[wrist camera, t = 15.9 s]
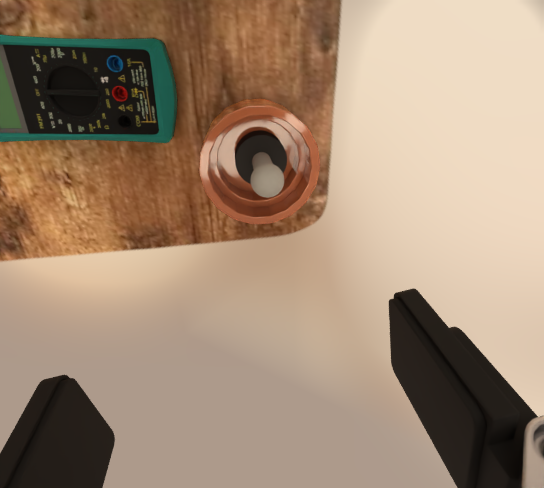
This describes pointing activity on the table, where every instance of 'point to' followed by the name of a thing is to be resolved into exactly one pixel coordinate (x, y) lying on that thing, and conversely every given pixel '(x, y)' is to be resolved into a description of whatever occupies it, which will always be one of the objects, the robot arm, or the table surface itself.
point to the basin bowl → (225, 178)
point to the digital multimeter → (86, 90)
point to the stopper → (261, 162)
